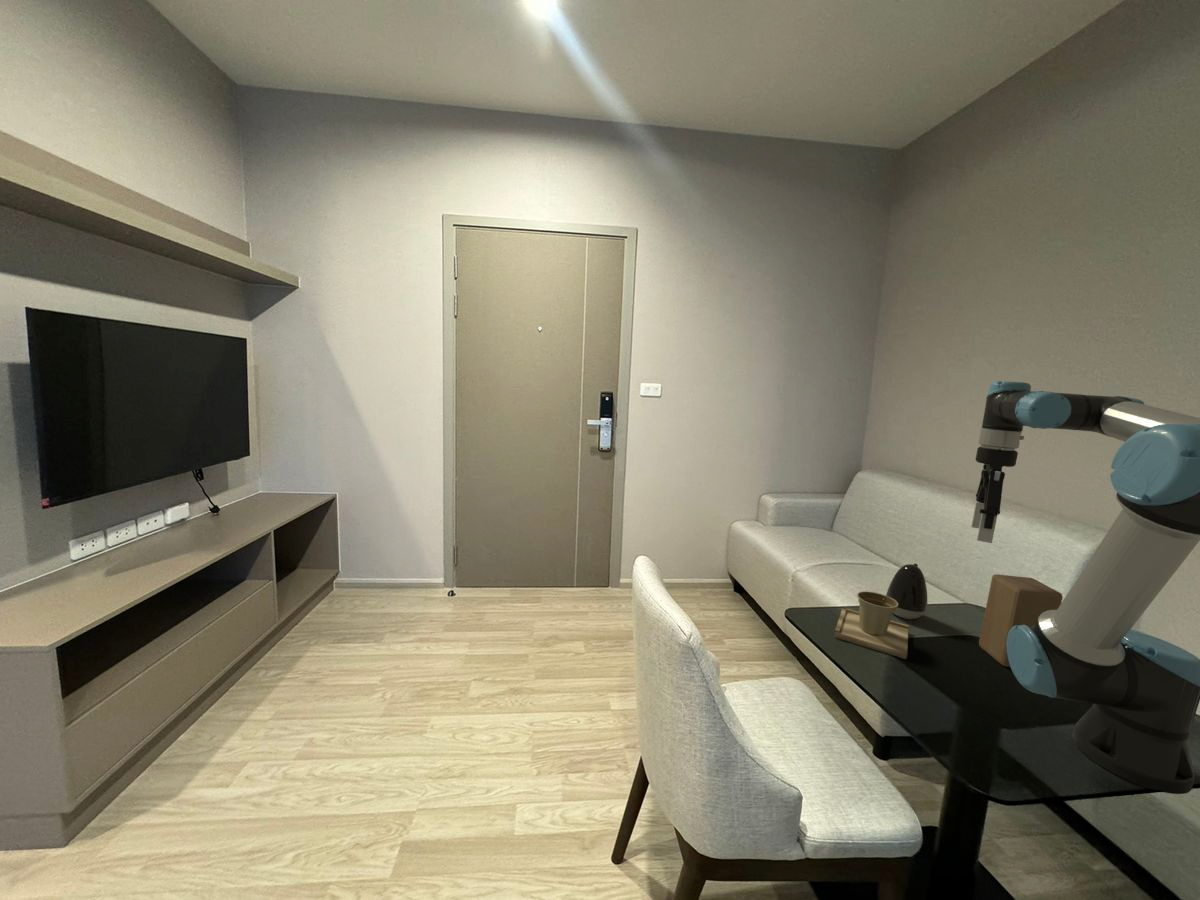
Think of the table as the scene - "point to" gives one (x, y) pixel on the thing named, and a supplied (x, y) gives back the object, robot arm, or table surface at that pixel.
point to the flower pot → (875, 612)
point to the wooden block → (1013, 610)
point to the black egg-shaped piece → (909, 592)
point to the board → (888, 643)
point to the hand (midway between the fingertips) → (980, 534)
